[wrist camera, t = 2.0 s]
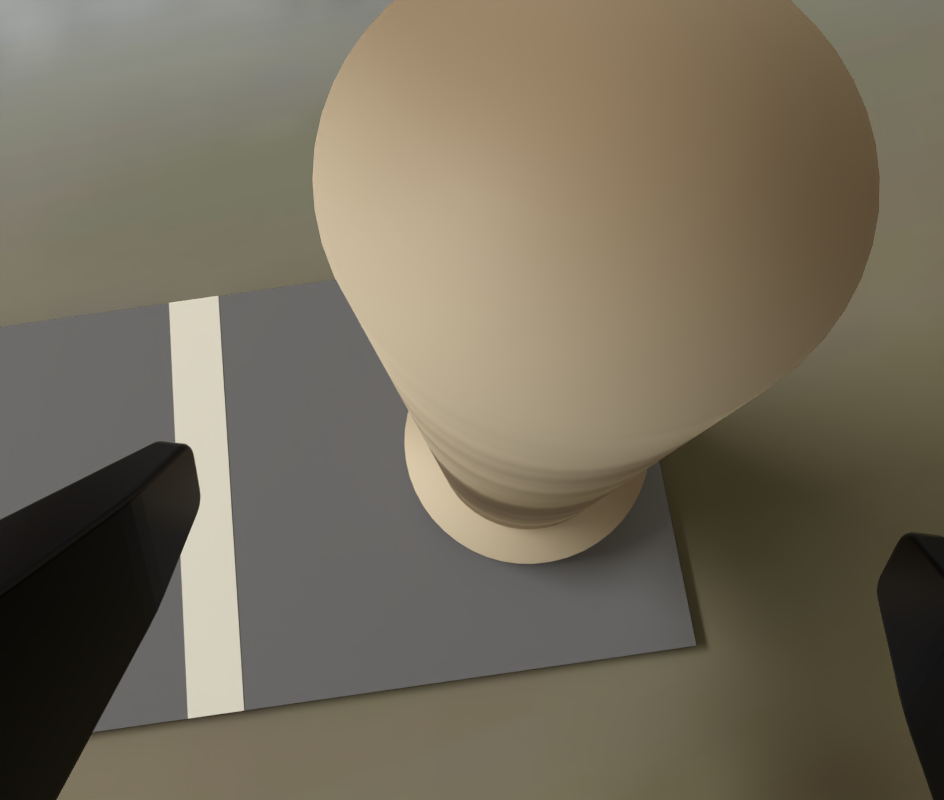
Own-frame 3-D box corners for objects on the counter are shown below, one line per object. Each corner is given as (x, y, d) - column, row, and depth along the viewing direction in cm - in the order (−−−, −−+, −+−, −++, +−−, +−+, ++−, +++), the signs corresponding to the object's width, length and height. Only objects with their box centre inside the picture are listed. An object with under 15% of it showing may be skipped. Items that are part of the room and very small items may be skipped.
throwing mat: (613, 244, 21) (615, 240, 21) (693, 644, 18) (696, 645, 18) (-220, 362, 21) (-231, 359, 21) (-255, 780, 18) (-267, 784, 18)
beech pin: (578, 606, 18) (816, 715, 5) (371, 497, 19) (63, 324, 6) (674, 398, 20) (1088, 7, 6) (474, 304, 20) (430, -236, 7)
